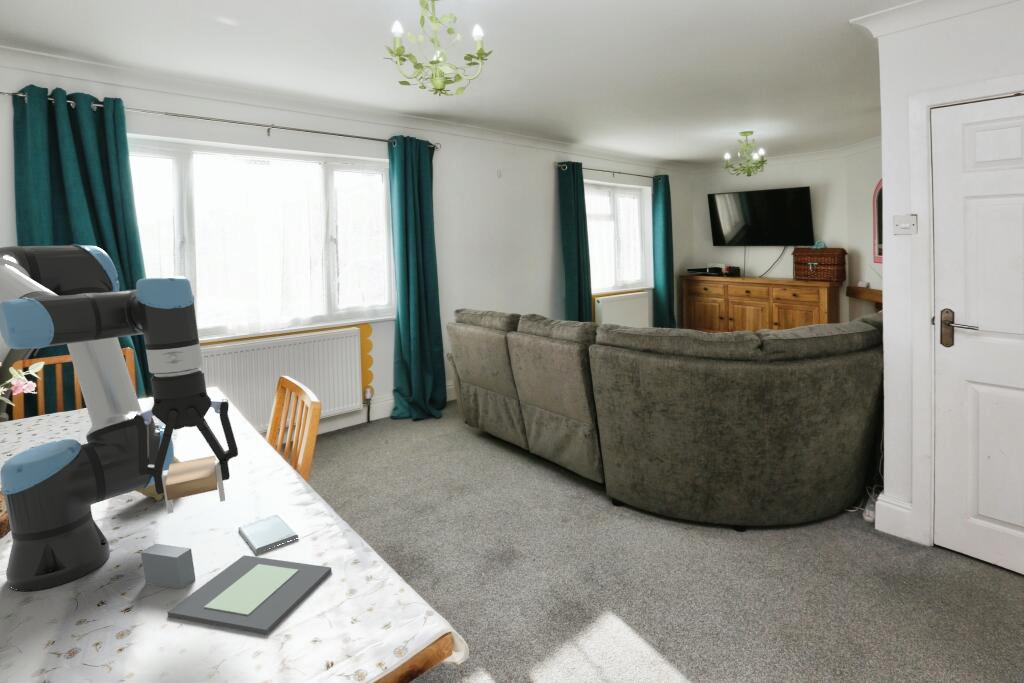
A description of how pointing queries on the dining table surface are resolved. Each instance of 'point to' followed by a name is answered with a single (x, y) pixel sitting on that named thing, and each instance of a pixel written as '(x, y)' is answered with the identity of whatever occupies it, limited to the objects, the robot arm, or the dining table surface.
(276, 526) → the hard drive
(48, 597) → the dining table surface
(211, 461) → the card box
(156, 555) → the stand
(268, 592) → the mat
